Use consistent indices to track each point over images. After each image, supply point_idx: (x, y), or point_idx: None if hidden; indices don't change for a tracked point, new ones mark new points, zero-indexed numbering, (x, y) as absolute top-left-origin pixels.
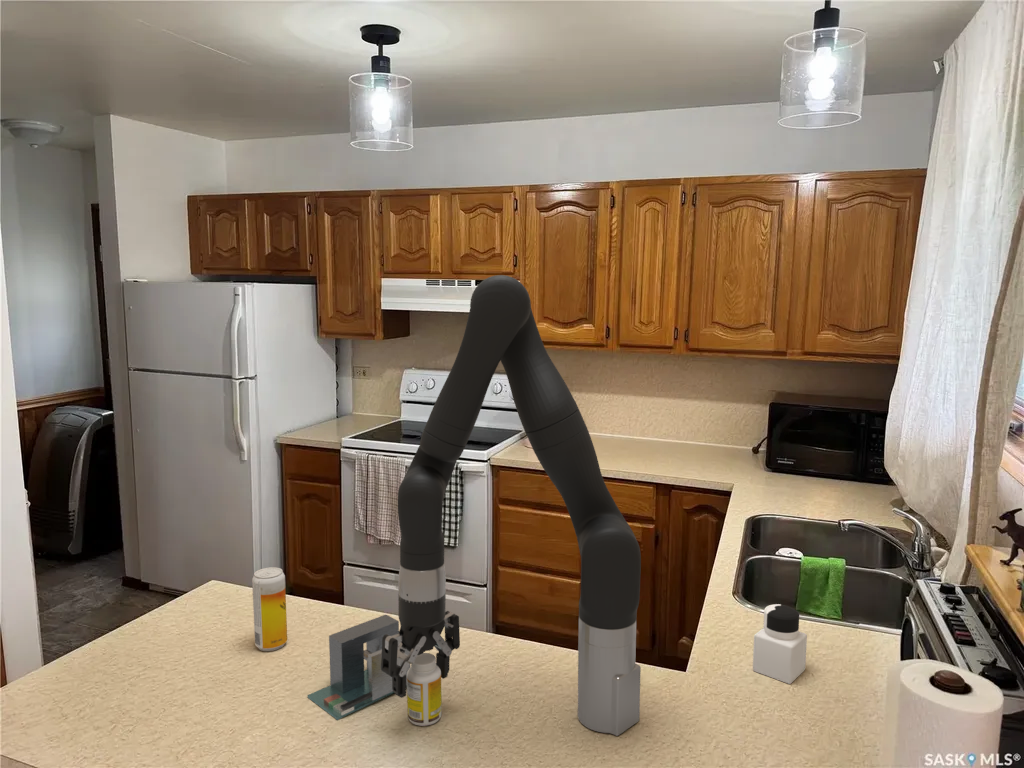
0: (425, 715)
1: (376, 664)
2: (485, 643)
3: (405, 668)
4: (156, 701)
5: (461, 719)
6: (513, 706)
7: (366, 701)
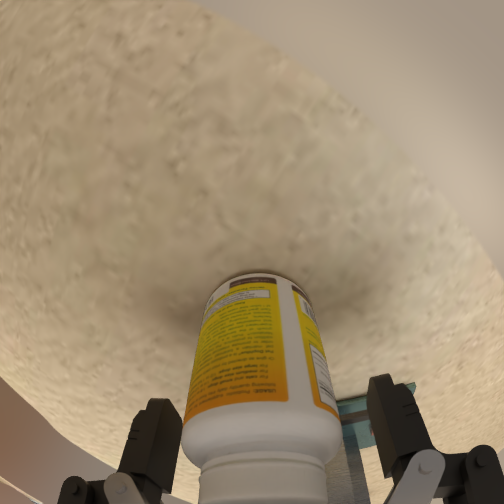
0: (288, 297)
1: (335, 486)
2: (48, 413)
3: (413, 486)
4: (476, 443)
5: (159, 246)
6: (15, 219)
7: (340, 410)
